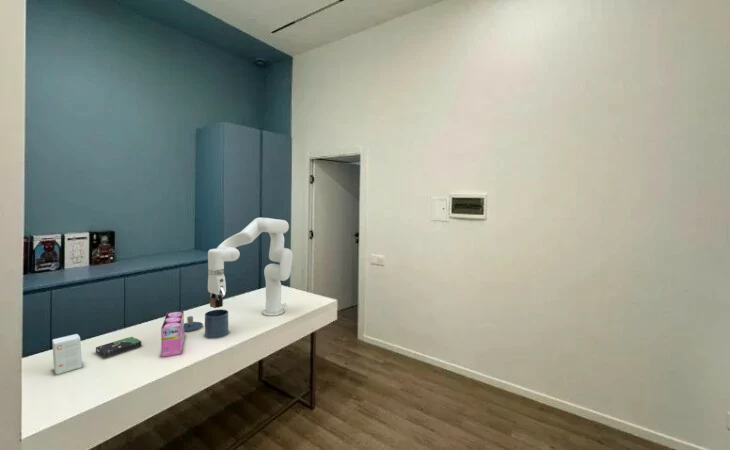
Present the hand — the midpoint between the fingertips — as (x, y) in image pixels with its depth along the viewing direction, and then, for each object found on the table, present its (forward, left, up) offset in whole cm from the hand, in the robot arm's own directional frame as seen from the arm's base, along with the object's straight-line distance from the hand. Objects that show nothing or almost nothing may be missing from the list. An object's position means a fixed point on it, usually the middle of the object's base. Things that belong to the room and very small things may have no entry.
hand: (216, 305), depth 170 cm
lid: (+4, -19, -15) cm, 25 cm away
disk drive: (+37, -20, -16) cm, 45 cm away
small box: (+56, -17, -16) cm, 61 cm away
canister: (0, 0, -16) cm, 16 cm away
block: (0, 0, 0) cm, 0 cm away
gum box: (+20, -4, -16) cm, 26 cm away
